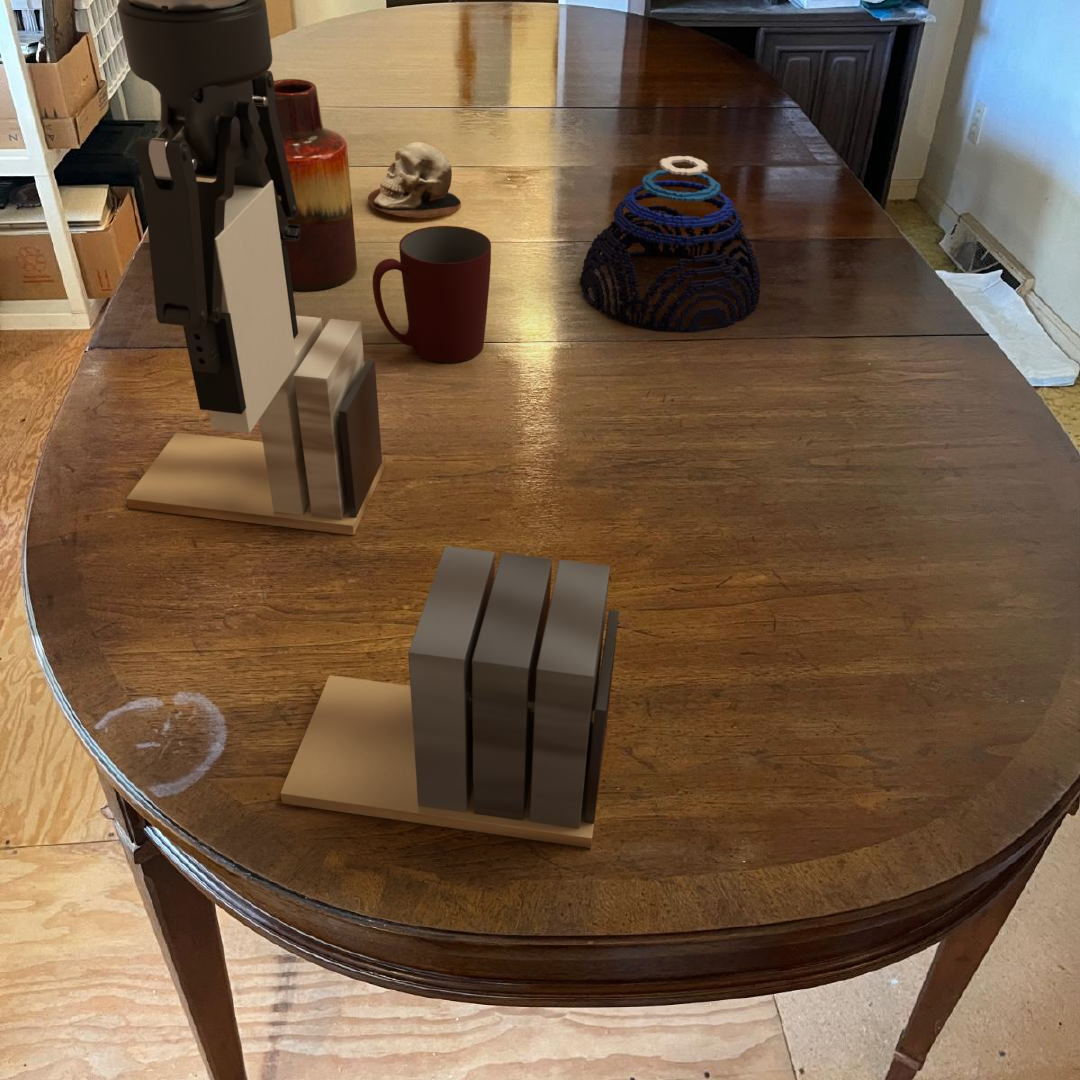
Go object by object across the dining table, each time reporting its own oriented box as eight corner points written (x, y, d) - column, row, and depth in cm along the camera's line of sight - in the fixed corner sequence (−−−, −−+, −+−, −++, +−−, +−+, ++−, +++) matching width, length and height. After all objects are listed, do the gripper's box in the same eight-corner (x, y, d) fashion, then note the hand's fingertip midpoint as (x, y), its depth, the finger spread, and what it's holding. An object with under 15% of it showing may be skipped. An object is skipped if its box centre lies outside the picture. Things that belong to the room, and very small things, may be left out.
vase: (296, 244, 128) (275, 65, 115) (374, 262, 125) (362, 80, 112) (242, 279, 120) (213, 91, 107) (324, 299, 117) (304, 108, 104)
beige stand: (353, 535, 85) (338, 383, 76) (128, 508, 87) (87, 357, 78) (386, 465, 93) (375, 319, 84) (178, 441, 95) (146, 296, 86)
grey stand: (591, 848, 63) (608, 685, 54) (281, 803, 65) (249, 638, 56) (607, 721, 71) (624, 561, 62) (330, 684, 73) (309, 523, 64)
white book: (249, 434, 67) (216, 239, 59) (212, 429, 67) (173, 234, 59) (297, 363, 74) (273, 179, 66) (262, 359, 74) (234, 176, 66)
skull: (394, 223, 131) (366, 144, 130) (374, 253, 140) (347, 179, 140) (480, 203, 135) (453, 127, 135) (455, 233, 145) (429, 162, 145)
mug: (397, 382, 104) (390, 277, 97) (362, 342, 110) (354, 240, 103) (505, 355, 109) (507, 253, 102) (467, 318, 114) (466, 219, 107)
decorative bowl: (555, 263, 126) (560, 140, 117) (706, 244, 132) (722, 126, 123) (622, 342, 112) (634, 208, 102) (788, 317, 117) (813, 188, 108)
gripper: (170, 54, 47) (245, 471, 61) (325, -47, 63) (355, 300, 77) (10, 41, 47) (121, 456, 62) (205, -55, 64) (257, 289, 78)
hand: (251, 369), depth 70 cm, fingers closed on white book, 9 cm apart
